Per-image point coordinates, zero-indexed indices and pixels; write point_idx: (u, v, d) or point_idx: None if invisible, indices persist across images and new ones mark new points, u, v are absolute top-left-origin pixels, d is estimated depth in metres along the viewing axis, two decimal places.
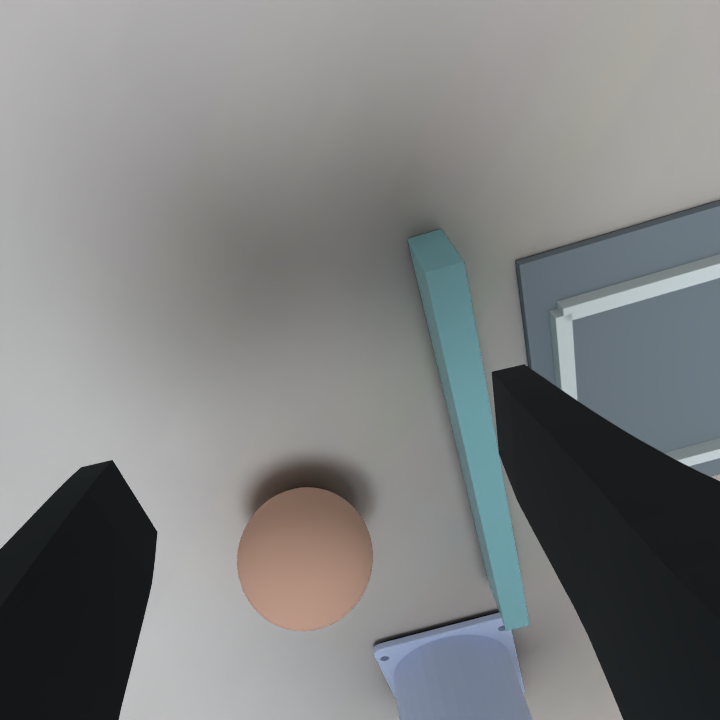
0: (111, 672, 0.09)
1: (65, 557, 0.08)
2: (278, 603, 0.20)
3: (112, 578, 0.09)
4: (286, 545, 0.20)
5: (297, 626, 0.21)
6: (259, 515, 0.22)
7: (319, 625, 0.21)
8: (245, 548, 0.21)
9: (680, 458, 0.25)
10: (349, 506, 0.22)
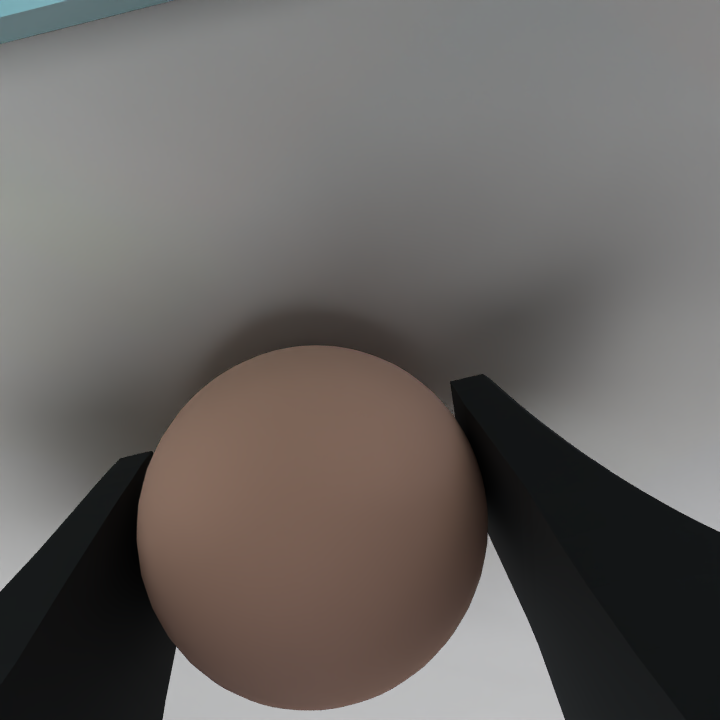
0: (156, 662, 0.09)
1: (113, 546, 0.08)
2: (274, 705, 0.07)
3: None
4: None
5: (370, 688, 0.07)
6: None
7: (386, 649, 0.07)
8: None
9: None
10: (200, 391, 0.09)
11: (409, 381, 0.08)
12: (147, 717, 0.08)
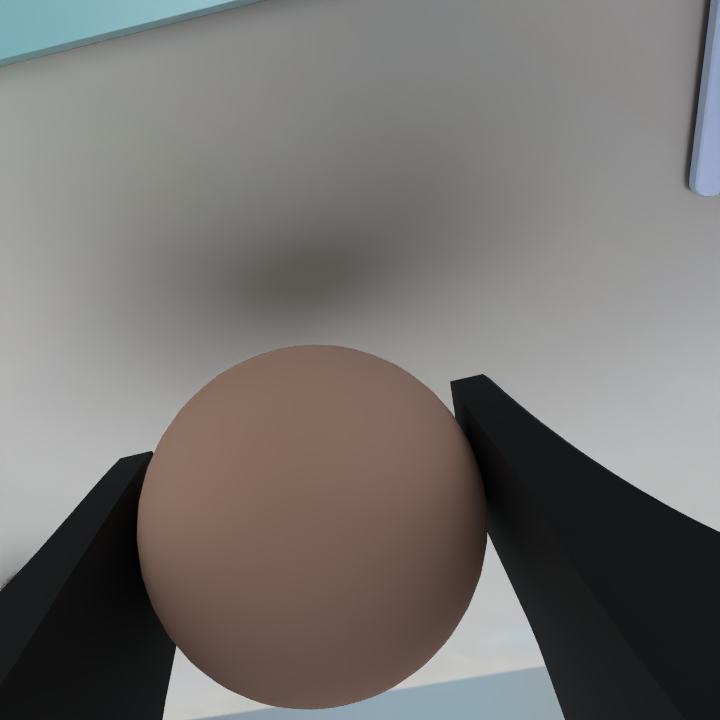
0: (156, 662, 0.09)
1: (113, 546, 0.08)
2: (274, 704, 0.07)
3: None
4: None
5: (370, 687, 0.07)
6: None
7: (386, 648, 0.07)
8: None
9: None
10: (200, 390, 0.09)
11: (409, 381, 0.08)
12: (147, 717, 0.08)
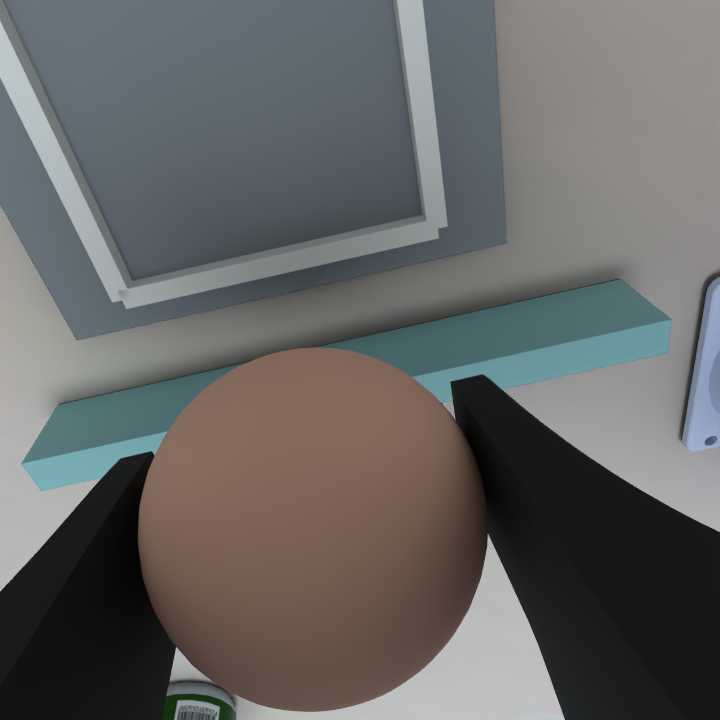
0: (156, 662, 0.09)
1: (113, 546, 0.08)
2: (275, 707, 0.07)
3: None
4: None
5: (371, 690, 0.07)
6: None
7: (386, 650, 0.07)
8: None
9: (402, 44, 0.13)
10: (201, 393, 0.09)
11: (409, 383, 0.08)
12: (147, 717, 0.08)
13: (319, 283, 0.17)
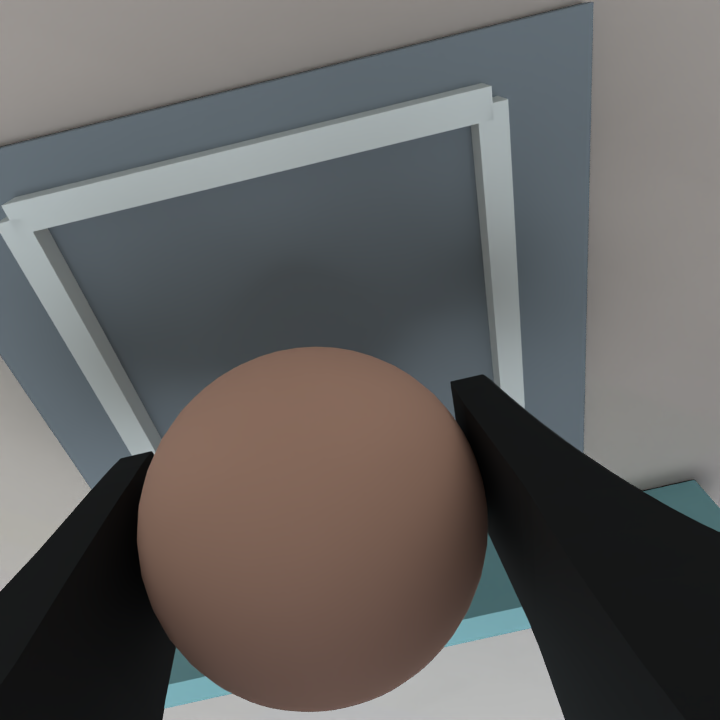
0: (156, 662, 0.09)
1: (113, 546, 0.08)
2: (275, 707, 0.07)
3: None
4: None
5: (371, 690, 0.07)
6: None
7: (386, 650, 0.07)
8: None
9: (494, 320, 0.13)
10: (200, 392, 0.09)
11: (409, 383, 0.08)
12: (147, 717, 0.08)
13: None
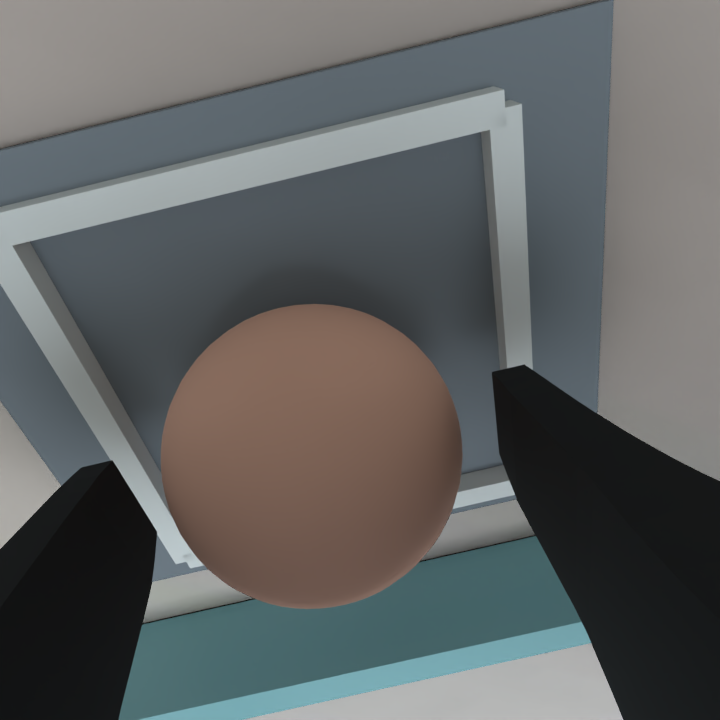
0: (111, 672, 0.09)
1: (65, 557, 0.08)
2: (279, 601, 0.09)
3: (112, 578, 0.09)
4: None
5: (360, 582, 0.08)
6: None
7: (372, 544, 0.08)
8: None
9: (504, 336, 0.12)
10: (214, 342, 0.10)
11: (394, 331, 0.10)
12: None
13: None
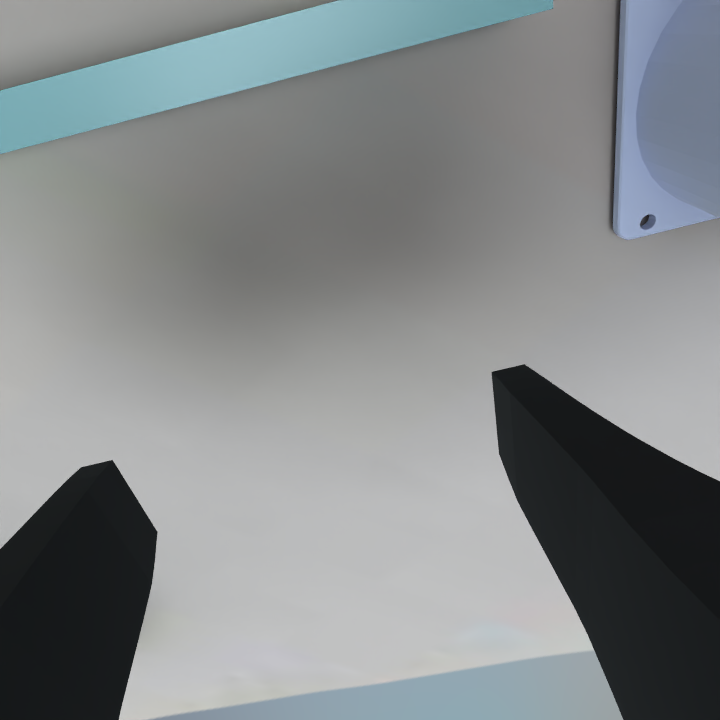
0: (111, 672, 0.09)
1: (65, 557, 0.08)
2: None
3: (112, 578, 0.09)
4: None
5: None
6: None
7: None
8: None
9: None
10: None
11: None
12: None
13: None
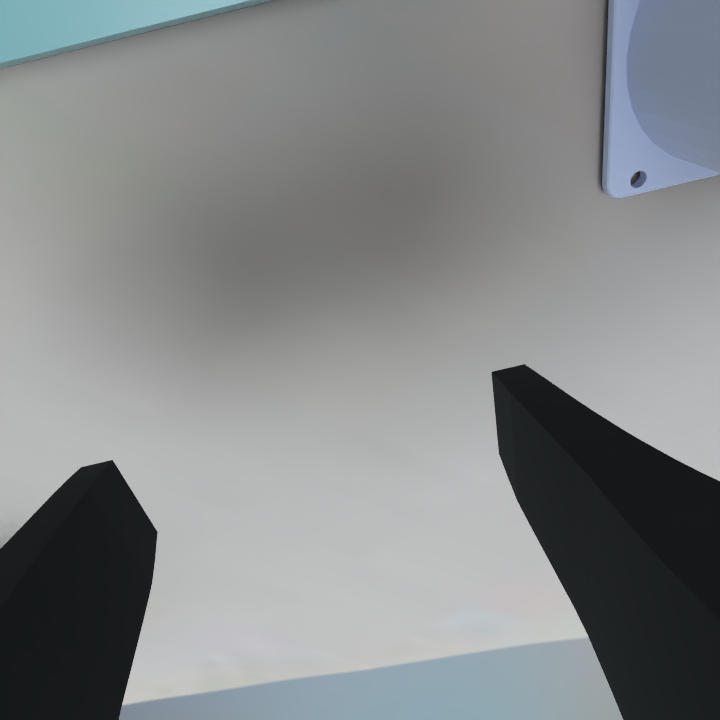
0: (111, 672, 0.09)
1: (65, 557, 0.08)
2: None
3: (112, 578, 0.09)
4: None
5: None
6: None
7: None
8: None
9: None
10: None
11: None
12: None
13: None
